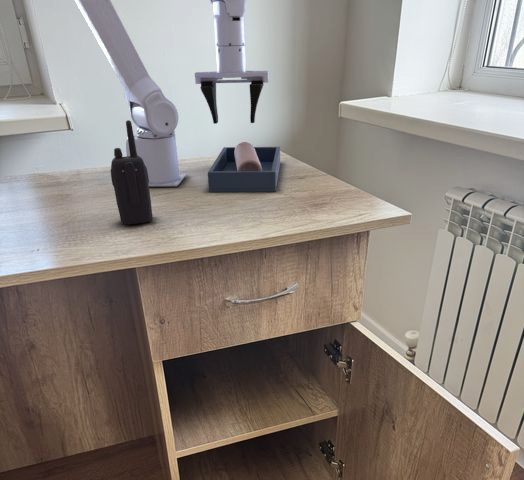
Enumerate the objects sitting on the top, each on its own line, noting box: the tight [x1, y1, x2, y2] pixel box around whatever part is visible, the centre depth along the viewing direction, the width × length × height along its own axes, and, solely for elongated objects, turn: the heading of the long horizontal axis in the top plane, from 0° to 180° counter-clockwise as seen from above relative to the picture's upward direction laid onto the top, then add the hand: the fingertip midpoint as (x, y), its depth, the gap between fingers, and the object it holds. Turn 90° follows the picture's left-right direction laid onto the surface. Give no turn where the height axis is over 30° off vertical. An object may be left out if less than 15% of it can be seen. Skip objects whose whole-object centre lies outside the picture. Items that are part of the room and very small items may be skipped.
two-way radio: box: [110, 119, 153, 226], centre depth 76 cm, size 6×4×15 cm
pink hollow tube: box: [234, 141, 262, 171], centre depth 101 cm, size 5×5×18 cm
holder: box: [207, 146, 281, 193], centre depth 102 cm, size 13×23×4 cm, turn 176°
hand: (234, 122), depth 103 cm, fingers open, 7 cm apart
